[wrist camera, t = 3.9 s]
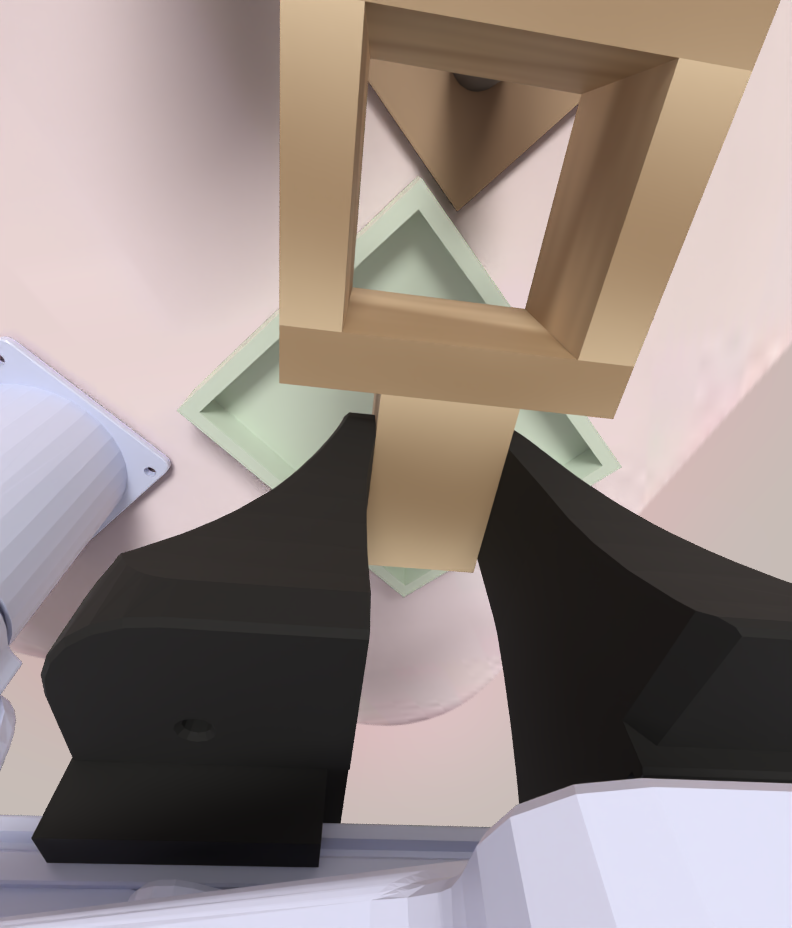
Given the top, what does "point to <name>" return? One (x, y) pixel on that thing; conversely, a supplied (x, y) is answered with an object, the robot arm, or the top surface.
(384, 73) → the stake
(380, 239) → the tray
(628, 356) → the tan frame with handle
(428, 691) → the top surface
